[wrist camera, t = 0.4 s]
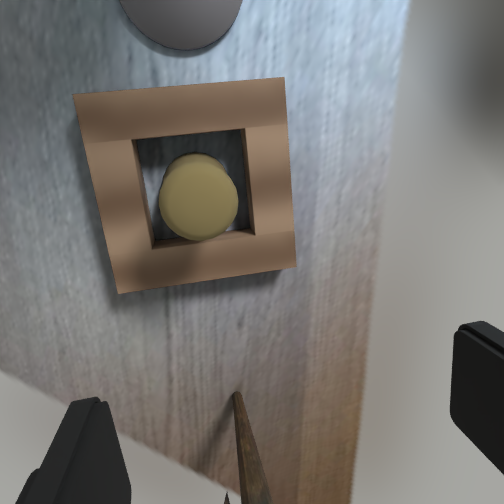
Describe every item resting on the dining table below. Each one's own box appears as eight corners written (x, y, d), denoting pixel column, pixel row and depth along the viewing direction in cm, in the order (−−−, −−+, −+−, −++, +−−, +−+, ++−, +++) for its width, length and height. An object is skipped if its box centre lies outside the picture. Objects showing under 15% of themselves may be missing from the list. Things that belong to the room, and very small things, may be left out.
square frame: (83, 99, 29) (72, 94, 26) (275, 83, 31) (284, 77, 28) (124, 281, 34) (118, 293, 31) (288, 257, 36) (296, 266, 33)
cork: (191, 232, 34) (192, 271, 23) (147, 180, 32) (127, 197, 21) (242, 192, 33) (266, 214, 23) (201, 137, 32) (207, 134, 21)
